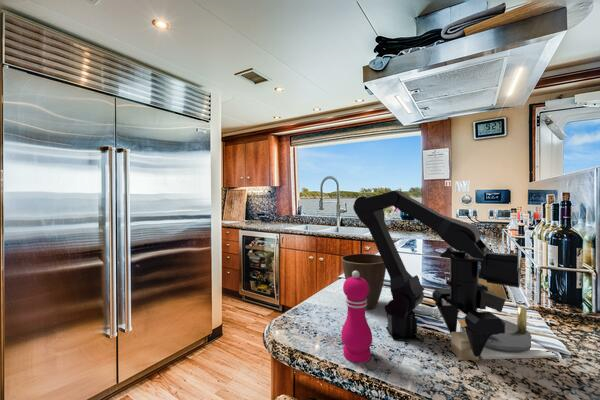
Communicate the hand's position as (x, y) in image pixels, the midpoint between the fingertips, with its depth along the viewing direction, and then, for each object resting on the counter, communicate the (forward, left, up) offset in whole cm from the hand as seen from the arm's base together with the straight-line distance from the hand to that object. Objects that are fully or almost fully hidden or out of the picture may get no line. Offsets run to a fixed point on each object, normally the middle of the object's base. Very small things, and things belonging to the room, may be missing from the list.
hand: (464, 344), depth 65 cm
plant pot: (-16, +30, -2) cm, 34 cm away
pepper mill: (-25, +1, -2) cm, 25 cm away
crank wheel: (+12, +6, -2) cm, 13 cm away
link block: (0, 0, -2) cm, 2 cm away
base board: (+12, +6, -2) cm, 13 cm away
